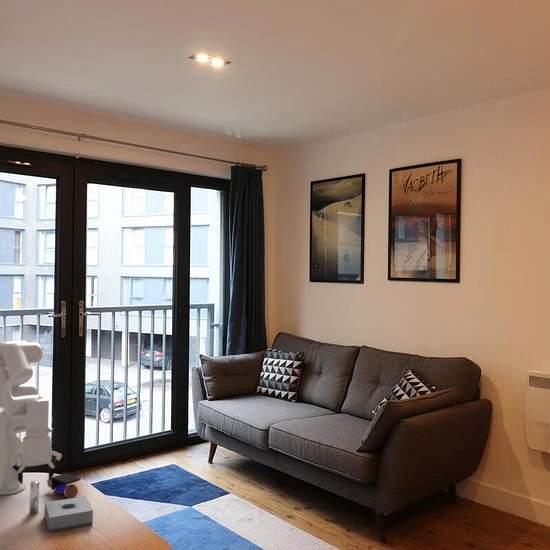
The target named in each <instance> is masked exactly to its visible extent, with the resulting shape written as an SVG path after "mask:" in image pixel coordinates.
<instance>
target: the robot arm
mask: <svg viewBox="0 0 550 550" xmlns="http://www.w3.org/2000/svg"><path fill="white" fill-rule="evenodd" d="M42 359H43V349H42V347H41V344H39V342H36V341H34V340H30V339H29V340H27V339H26V340H25V339H24V340H22V339H21V340H2V341H0V408H1V409H4V410H2V411H1V412H0V496H5V495H6V496H8V495H12V494H16V493H20V492H22V491H24V490H25V488H26V483H25V482H24V480H23V479H24V475H23V474H24V473H23V470H24V469H25V468H26V467H35V466H42V465H48V466H49V467H48V479H49V480H52V477H54V473H55V472H54V471H55V467H56V466H57V465H58V464H59V462H60V460H61V458H62V457H63V455H62V453H59V452H57V451H55V450H52V441H51V434H50V433H53V428H52V427H49V413H50V411H49V410H50V409H49V406H50V403H49V399H48V398H47V397H46V398H45V396H44V395H43V394H39V389H38V387H37V386H36V384H35V383H34V382H28V381H30V380H31V379H32V377H33V375H34V371H33V368H32V366H31V363H32V364H33V363H39V362H40V361H41V360H42ZM21 433H25V436H23V438H22V440H21V439H20V438H19V437H18V434H21ZM52 456H54V457H55V459H54V461H53V462H52Z"/></svg>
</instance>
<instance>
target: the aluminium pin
mask: <svg viewBox="0 0 550 550" xmlns="http://www.w3.org/2000/svg"><path fill="white" fill-rule="evenodd" d="M29 488H30V489H29V508H28V509H29V515H37V514H38V513H39V503H40V481H39V480H31V481H30V485H29Z"/></svg>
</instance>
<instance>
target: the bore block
mask: <svg viewBox="0 0 550 550" xmlns="http://www.w3.org/2000/svg"><path fill="white" fill-rule="evenodd" d="M93 515H94V510H93V508H92V505H91V503H90V501H89V500H88V498H87V496H85V495H84V496H77V497H73V498H65V499H59V500H53V501H52V500H51V501H47V502H46V501H45V502H44V516H43V517H44V520H45V524H46V527H47V530H48V533H55V532H60V531H65V530H71V529H77V528H82V527H88V526H93V524H94V523H93V522H94V521H93V517H94V516H93Z"/></svg>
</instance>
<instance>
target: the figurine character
mask: <svg viewBox="0 0 550 550" xmlns="http://www.w3.org/2000/svg"><path fill="white" fill-rule="evenodd" d="M81 480H82V479H81V478H80V477H77V476H75V475H72V474H69V473H66V472H65V473H61V474H58V475H54V476H52V480H49V478H48V479H47V483H46V484H47V486H48V488H51V491H52V492H53V493H56V494H57V493H60V494H63V495H64V496H65V498H66V499H71V498H76V496H77V494H78V492H79V488H78V486H77V485H75V484H73V483H77V482H78V481H81Z"/></svg>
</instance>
